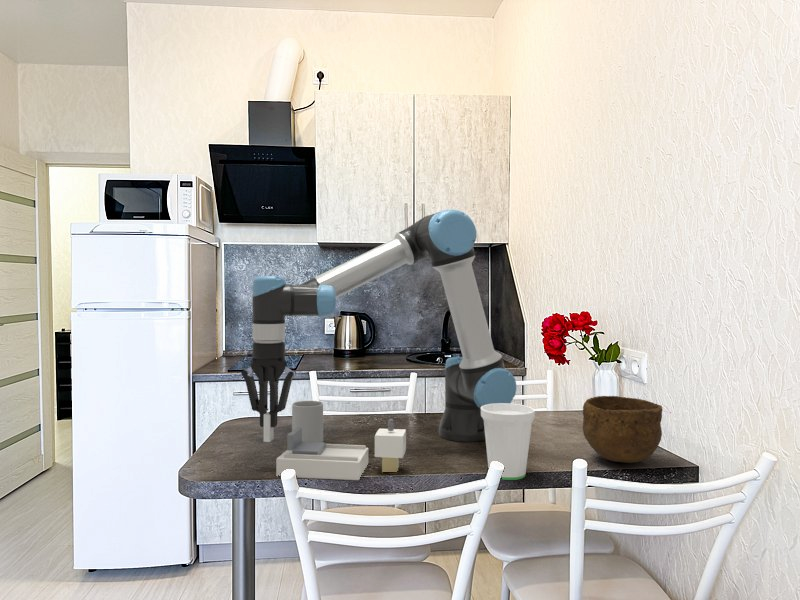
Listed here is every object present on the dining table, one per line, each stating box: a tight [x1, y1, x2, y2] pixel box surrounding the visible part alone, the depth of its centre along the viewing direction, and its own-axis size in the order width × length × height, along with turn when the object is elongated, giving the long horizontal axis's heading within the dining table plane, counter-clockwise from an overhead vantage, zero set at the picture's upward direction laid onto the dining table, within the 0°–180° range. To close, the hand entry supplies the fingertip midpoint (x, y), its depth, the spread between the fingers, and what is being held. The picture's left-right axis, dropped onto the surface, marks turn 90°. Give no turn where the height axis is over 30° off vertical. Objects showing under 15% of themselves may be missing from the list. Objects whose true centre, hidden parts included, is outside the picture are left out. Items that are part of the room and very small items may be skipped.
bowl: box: [582, 395, 664, 464], centre depth 144 cm, size 19×19×15 cm
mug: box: [291, 400, 324, 443], centre depth 161 cm, size 12×8×11 cm
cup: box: [481, 403, 536, 481], centre depth 134 cm, size 12×12×15 cm
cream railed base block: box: [275, 443, 369, 481], centre depth 136 cm, size 19×12×5 cm, turn 83°
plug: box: [374, 418, 407, 473], centre depth 136 cm, size 6×6×12 cm
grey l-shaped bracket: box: [286, 427, 327, 455], centre depth 137 cm, size 7×8×5 cm
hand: (268, 440), depth 138 cm, fingers closed
